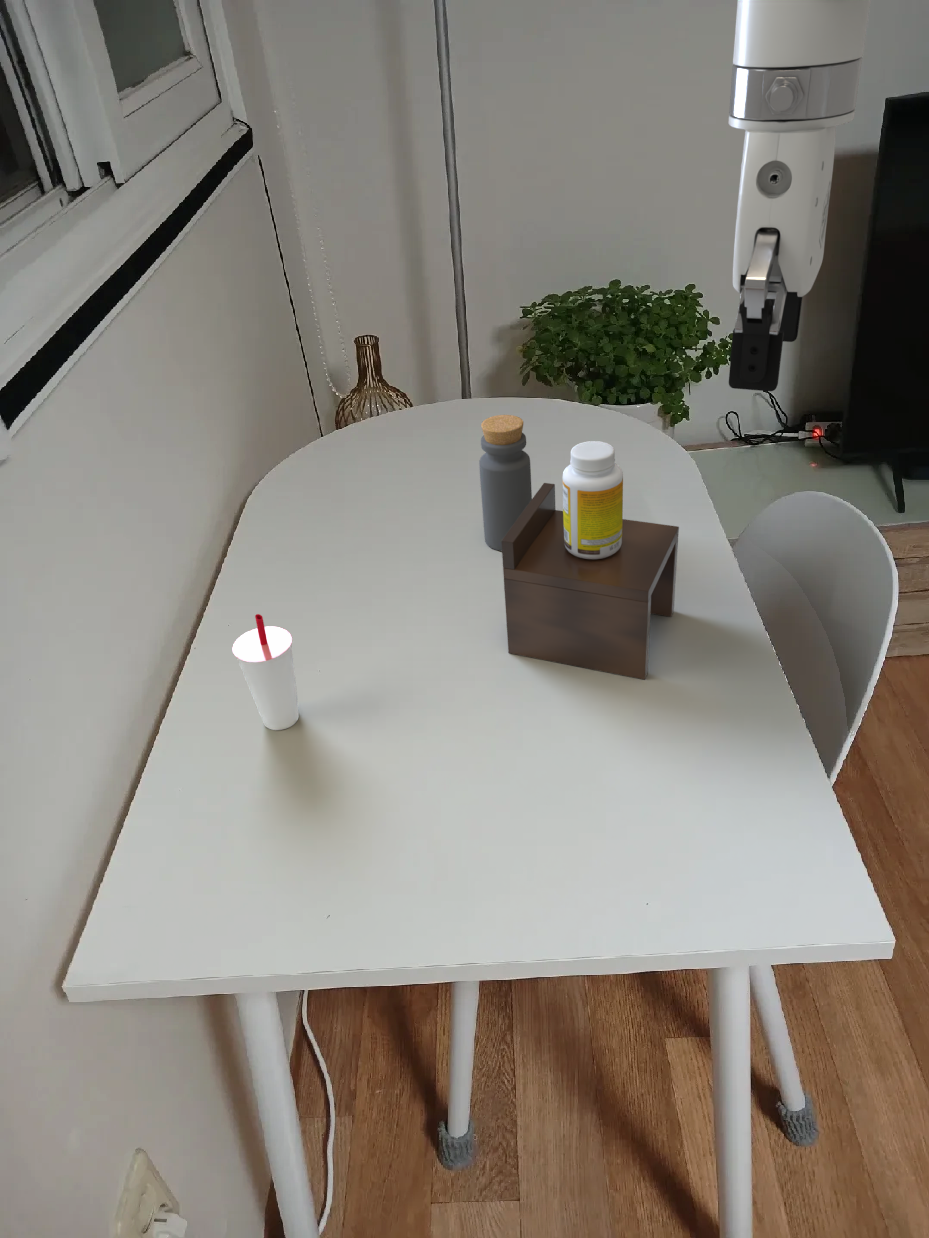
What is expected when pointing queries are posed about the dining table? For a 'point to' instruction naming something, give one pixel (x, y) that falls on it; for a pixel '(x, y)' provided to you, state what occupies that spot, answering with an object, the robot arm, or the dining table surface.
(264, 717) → the cup
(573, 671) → the dining table surface
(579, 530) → the supplement bottle
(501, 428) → the bottle
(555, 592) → the shelf
